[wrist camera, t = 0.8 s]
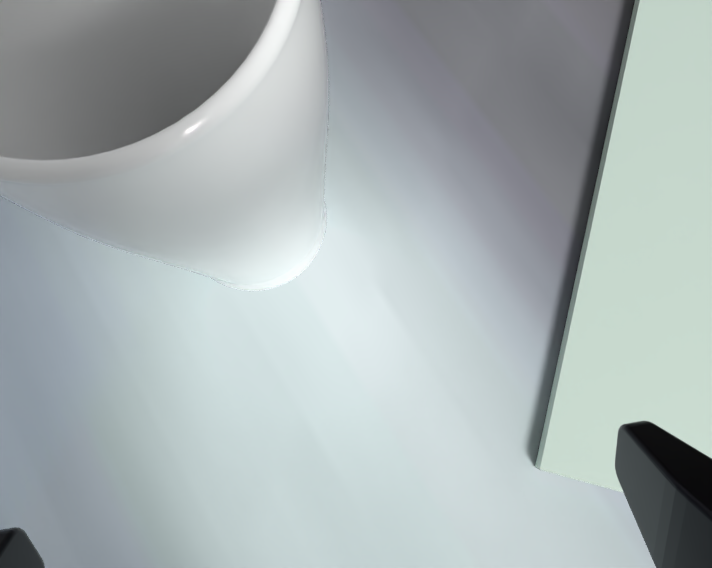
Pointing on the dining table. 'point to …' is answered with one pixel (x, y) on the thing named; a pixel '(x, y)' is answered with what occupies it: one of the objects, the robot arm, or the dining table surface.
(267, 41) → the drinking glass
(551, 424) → the pad
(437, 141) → the dining table surface
